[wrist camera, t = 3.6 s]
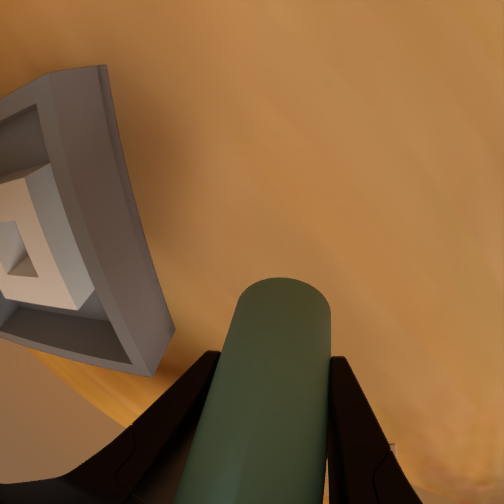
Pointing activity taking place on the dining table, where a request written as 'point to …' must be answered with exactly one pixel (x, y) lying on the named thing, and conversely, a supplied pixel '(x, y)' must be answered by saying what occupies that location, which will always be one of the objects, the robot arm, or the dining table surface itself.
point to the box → (74, 230)
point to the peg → (266, 403)
